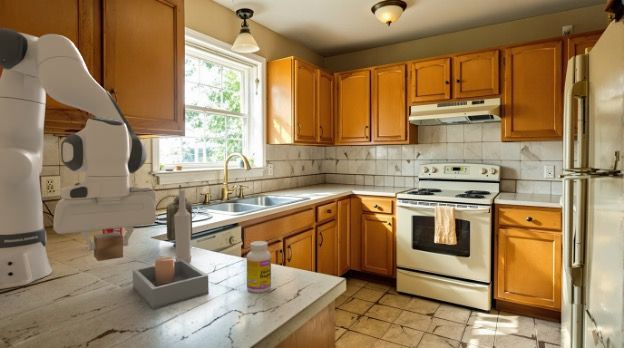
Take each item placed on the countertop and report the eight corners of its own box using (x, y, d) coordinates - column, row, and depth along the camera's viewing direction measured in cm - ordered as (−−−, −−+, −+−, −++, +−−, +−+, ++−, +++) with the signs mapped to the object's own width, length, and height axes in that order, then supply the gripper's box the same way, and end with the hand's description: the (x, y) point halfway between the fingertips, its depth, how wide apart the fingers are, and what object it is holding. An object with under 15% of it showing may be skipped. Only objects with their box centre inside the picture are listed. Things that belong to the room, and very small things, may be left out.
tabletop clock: (192, 250, 130) (191, 186, 129) (167, 252, 127) (165, 186, 126) (192, 241, 144) (191, 183, 142) (169, 243, 141) (167, 183, 139)
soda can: (107, 246, 135) (106, 217, 135) (100, 244, 140) (99, 215, 139) (125, 243, 141) (124, 214, 140) (118, 240, 145) (117, 212, 144)
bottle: (175, 260, 118) (173, 189, 117) (190, 258, 120) (189, 188, 119) (175, 265, 113) (173, 191, 112) (191, 263, 115) (190, 190, 114)
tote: (153, 309, 81) (152, 289, 81) (133, 287, 94) (132, 269, 94) (208, 293, 90) (208, 275, 90) (183, 275, 104) (182, 259, 103)
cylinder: (153, 283, 96) (153, 259, 95) (171, 279, 99) (171, 256, 98) (157, 288, 92) (157, 263, 91) (176, 284, 95) (176, 260, 94)
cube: (97, 261, 75) (97, 238, 75) (94, 256, 79) (93, 234, 78) (123, 257, 78) (123, 235, 78) (118, 252, 82) (118, 232, 82)
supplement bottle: (260, 295, 89) (260, 247, 88) (241, 290, 93) (241, 244, 92) (276, 287, 95) (275, 242, 94) (258, 282, 98) (257, 238, 97)
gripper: (152, 185, 87) (152, 238, 88) (52, 188, 74) (53, 251, 74) (159, 187, 82) (159, 243, 83) (54, 191, 69) (55, 258, 69)
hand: (108, 247), depth 78 cm, fingers closed on cube, 5 cm apart
